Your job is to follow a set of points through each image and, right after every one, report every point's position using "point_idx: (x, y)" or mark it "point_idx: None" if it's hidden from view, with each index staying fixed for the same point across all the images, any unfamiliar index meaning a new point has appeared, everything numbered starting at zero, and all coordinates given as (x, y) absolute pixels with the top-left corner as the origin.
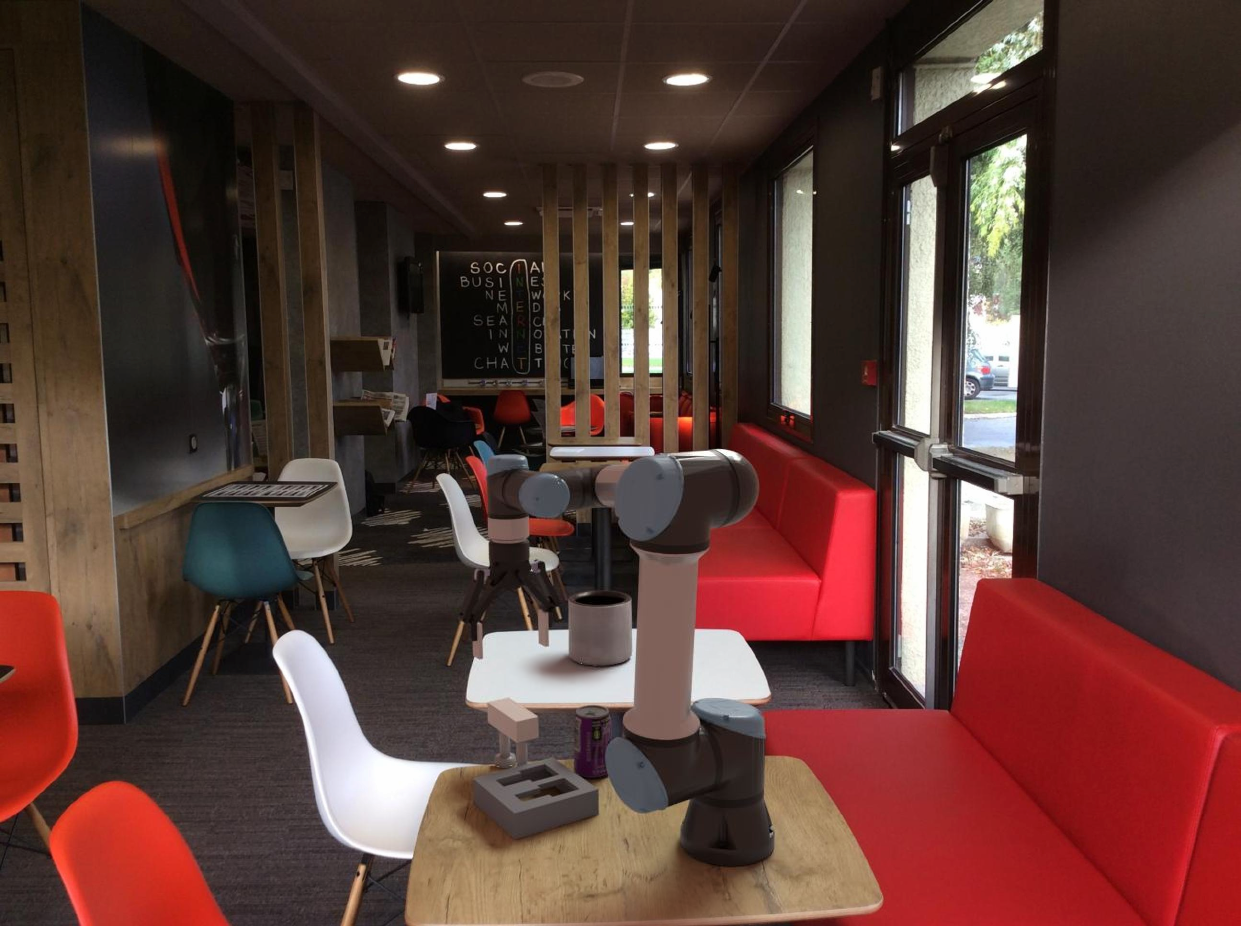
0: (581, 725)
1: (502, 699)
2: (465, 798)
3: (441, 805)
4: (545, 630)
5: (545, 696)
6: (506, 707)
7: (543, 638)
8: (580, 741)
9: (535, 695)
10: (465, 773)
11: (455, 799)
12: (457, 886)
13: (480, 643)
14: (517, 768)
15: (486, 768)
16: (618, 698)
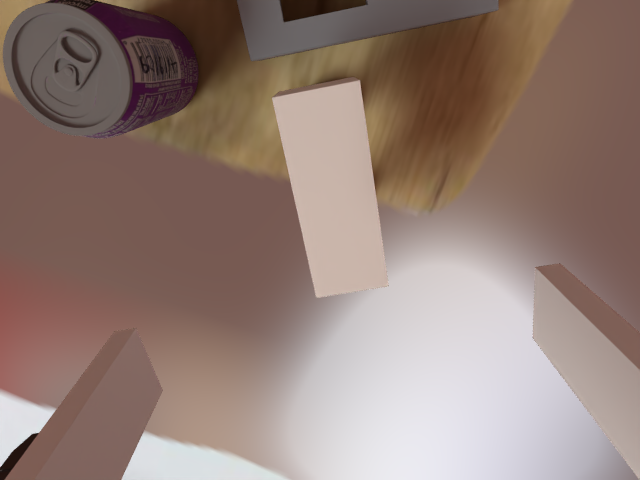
0: (132, 31)
1: (339, 289)
2: (481, 48)
3: (545, 33)
4: (84, 399)
5: (173, 458)
6: (348, 222)
7: (125, 375)
8: (157, 37)
9: (190, 468)
10: (433, 181)
11: (504, 53)
12: None
13: (608, 320)
14: (364, 24)
15: (383, 188)
16: (27, 408)
